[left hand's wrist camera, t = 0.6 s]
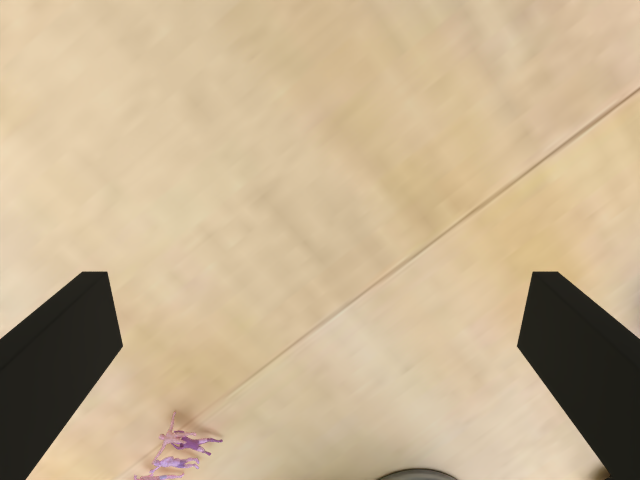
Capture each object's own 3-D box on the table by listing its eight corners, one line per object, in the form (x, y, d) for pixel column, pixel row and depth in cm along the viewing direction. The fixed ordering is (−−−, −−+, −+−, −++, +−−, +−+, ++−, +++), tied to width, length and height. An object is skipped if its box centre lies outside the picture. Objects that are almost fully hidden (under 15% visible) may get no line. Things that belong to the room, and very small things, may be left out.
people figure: (153, 529, 52) (92, 525, 47) (155, 481, 56) (99, 474, 52) (245, 451, 47) (187, 439, 42) (239, 406, 51) (186, 391, 47)
